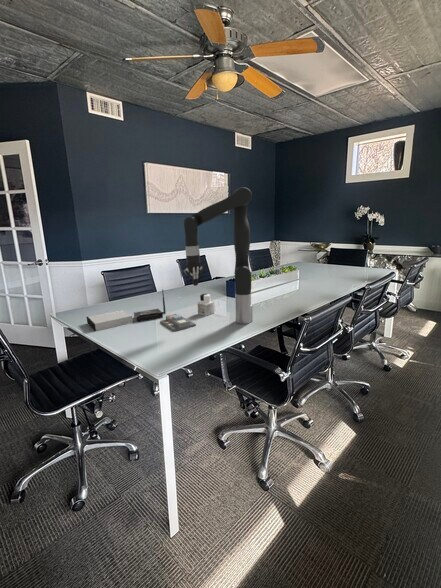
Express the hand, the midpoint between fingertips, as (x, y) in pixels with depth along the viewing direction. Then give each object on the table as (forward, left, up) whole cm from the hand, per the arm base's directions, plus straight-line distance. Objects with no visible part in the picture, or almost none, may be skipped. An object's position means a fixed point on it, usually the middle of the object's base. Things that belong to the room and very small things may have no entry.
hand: (195, 285), depth 165 cm
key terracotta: (+8, -16, -23) cm, 29 cm away
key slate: (+8, -10, -21) cm, 25 cm away
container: (-16, -17, -24) cm, 34 cm away
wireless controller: (+15, -34, -25) cm, 45 cm away
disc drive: (+40, -40, -25) cm, 61 cm away
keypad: (+8, -10, -24) cm, 27 cm away
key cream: (+8, -4, -23) cm, 24 cm away
